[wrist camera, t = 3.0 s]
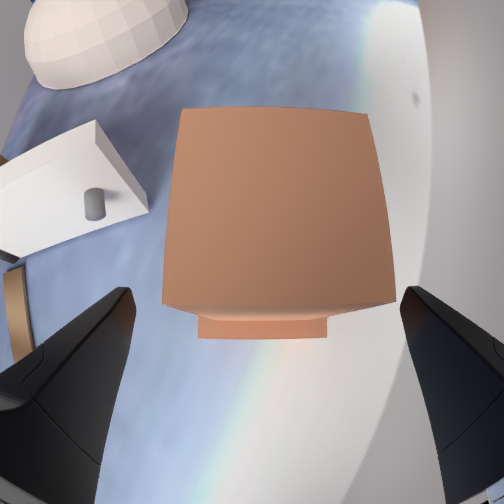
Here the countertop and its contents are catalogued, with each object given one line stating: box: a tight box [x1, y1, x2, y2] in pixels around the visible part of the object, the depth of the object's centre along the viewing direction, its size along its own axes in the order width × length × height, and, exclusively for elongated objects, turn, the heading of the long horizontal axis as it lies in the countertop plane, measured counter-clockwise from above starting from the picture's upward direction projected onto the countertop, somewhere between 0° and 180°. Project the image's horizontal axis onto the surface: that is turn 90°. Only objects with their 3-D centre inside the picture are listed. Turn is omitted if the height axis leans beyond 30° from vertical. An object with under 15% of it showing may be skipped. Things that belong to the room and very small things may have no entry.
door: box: [0, 119, 149, 258], centre depth 15 cm, size 12×3×9 cm, turn 106°
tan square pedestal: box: [162, 107, 396, 339], centre depth 13 cm, size 7×7×13 cm
